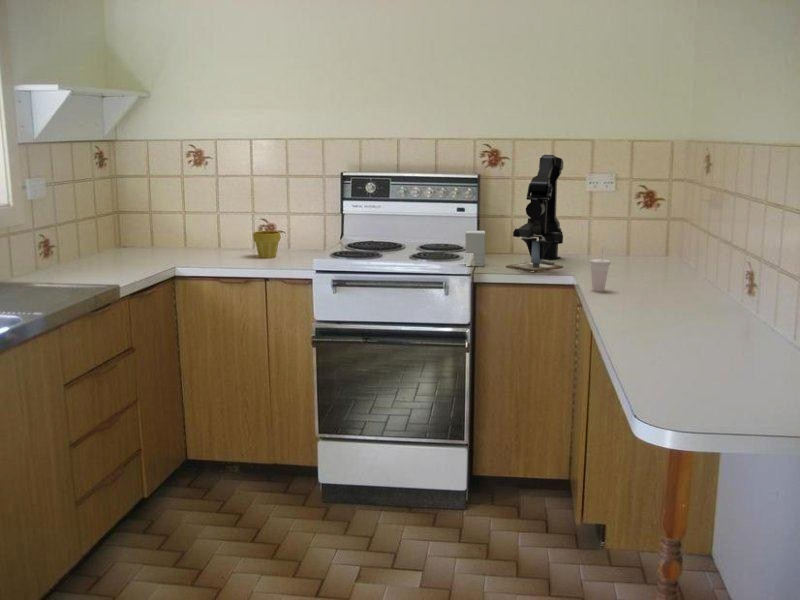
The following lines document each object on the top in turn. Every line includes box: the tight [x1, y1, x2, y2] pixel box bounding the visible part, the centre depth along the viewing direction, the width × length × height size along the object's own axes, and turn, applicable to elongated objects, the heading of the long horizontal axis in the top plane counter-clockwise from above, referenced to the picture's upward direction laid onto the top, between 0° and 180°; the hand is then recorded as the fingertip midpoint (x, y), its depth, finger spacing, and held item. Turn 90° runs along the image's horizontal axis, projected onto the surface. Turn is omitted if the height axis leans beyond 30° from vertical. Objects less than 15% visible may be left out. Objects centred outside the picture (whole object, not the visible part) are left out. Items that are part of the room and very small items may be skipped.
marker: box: [530, 240, 543, 267], centre depth 302 cm, size 4×4×9 cm
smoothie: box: [589, 246, 611, 293], centre depth 265 cm, size 6×6×14 cm
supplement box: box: [464, 230, 486, 267], centre depth 312 cm, size 7×7×13 cm
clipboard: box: [505, 260, 564, 273], centre depth 308 cm, size 16×14×1 cm
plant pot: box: [252, 230, 281, 259], centre depth 325 cm, size 10×10×10 cm
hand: (536, 258), depth 302 cm, fingers closed on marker, 4 cm apart
